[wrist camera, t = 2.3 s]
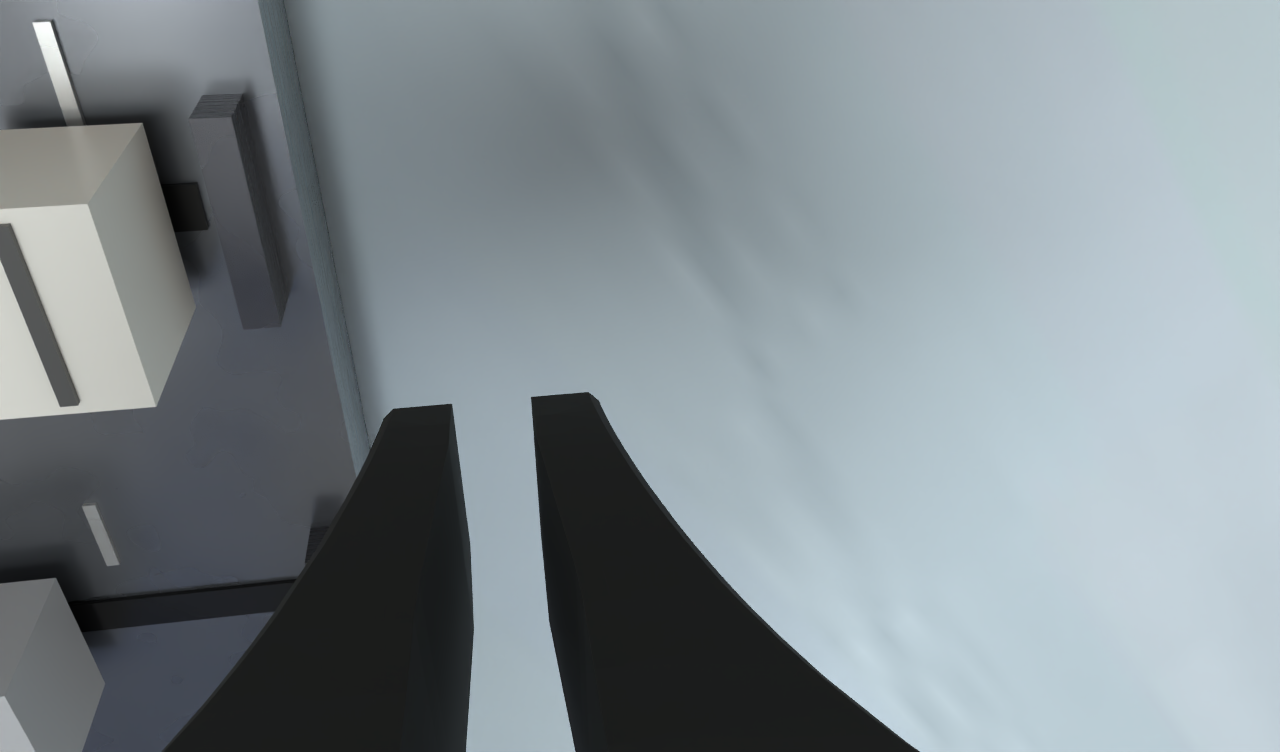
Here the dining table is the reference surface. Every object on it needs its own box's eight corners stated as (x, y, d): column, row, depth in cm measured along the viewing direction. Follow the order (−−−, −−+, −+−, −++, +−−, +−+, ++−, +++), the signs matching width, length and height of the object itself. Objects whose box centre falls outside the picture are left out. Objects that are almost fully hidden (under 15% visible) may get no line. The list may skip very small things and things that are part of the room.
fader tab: (195, 307, 17) (154, 410, 15) (56, 317, 17) (-9, 424, 14) (142, 122, 15) (85, 207, 13) (-16, 130, 15) (-104, 218, 12)
